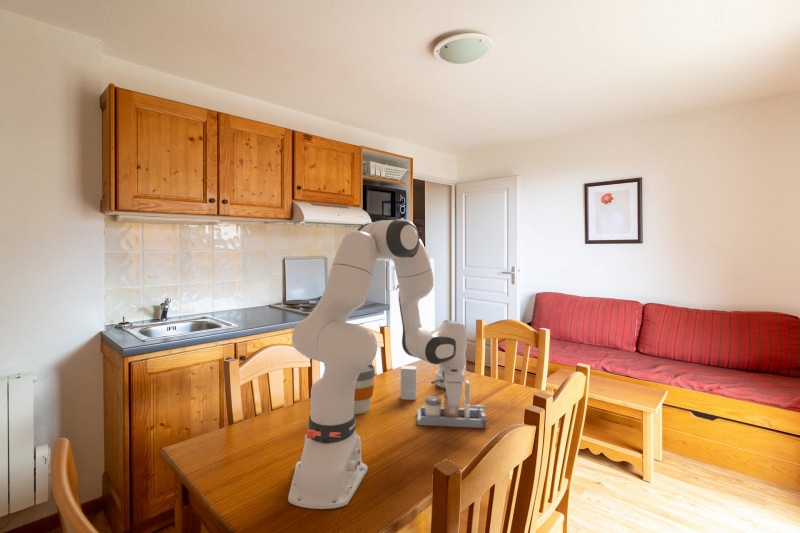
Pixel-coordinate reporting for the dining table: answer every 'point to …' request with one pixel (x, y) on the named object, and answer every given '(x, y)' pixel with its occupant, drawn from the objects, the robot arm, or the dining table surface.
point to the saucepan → (439, 380)
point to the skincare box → (408, 382)
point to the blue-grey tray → (453, 419)
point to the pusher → (466, 401)
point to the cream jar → (432, 406)
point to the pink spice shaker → (446, 408)
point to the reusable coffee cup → (364, 390)
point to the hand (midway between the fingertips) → (451, 408)
